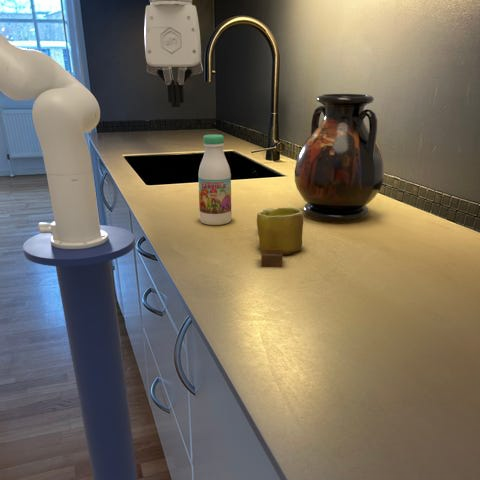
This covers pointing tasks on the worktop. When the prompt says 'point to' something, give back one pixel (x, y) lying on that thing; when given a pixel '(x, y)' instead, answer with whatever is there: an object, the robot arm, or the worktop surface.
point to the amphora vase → (340, 160)
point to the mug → (280, 229)
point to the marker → (271, 258)
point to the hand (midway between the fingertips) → (176, 106)
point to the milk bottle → (214, 183)
